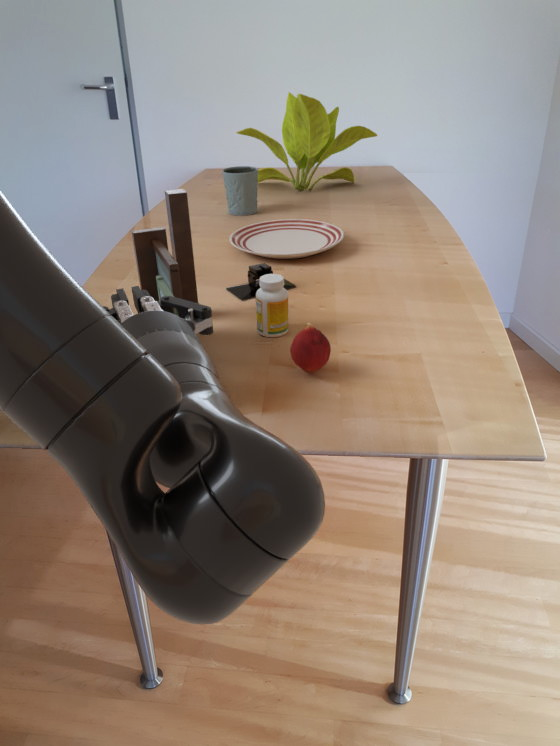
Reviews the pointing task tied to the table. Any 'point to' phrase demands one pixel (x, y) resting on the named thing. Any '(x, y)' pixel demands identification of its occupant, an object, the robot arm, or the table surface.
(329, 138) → the artificial plant
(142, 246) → the window frame
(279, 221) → the dinner plate
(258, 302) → the supplement bottle
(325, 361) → the onion
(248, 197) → the embossed green cup
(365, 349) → the table surface
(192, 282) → the end post
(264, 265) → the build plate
